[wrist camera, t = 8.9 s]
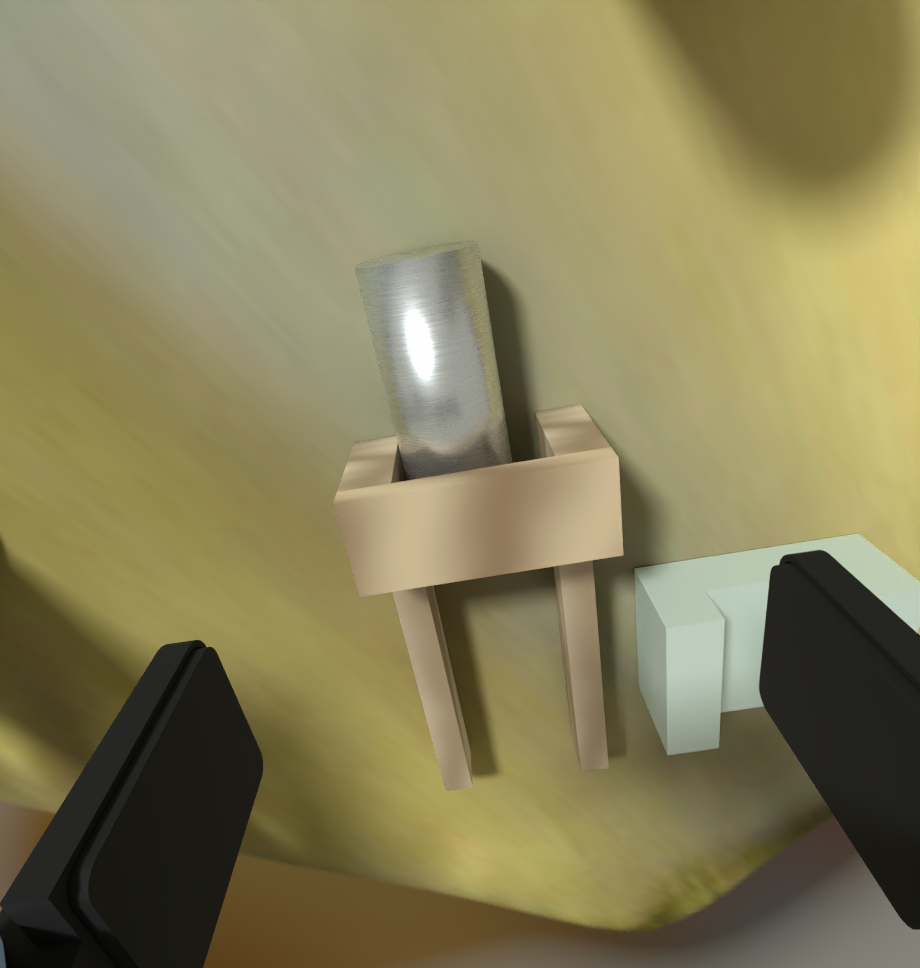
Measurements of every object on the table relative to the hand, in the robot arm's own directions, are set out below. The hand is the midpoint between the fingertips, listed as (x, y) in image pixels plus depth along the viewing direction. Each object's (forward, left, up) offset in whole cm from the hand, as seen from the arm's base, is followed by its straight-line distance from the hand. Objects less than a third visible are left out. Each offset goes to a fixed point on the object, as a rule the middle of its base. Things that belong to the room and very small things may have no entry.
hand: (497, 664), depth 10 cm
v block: (+12, -15, -16) cm, 25 cm away
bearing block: (0, -12, -16) cm, 20 cm away
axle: (0, 0, -16) cm, 16 cm away
